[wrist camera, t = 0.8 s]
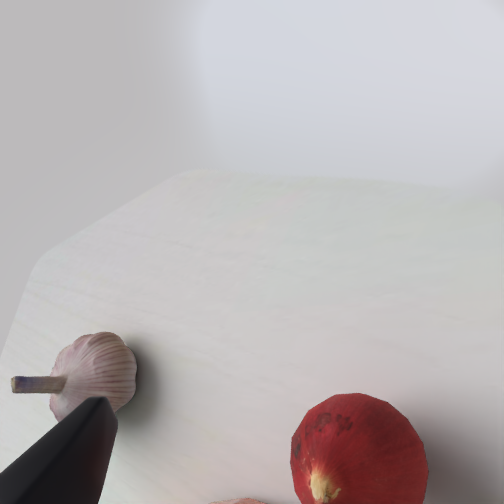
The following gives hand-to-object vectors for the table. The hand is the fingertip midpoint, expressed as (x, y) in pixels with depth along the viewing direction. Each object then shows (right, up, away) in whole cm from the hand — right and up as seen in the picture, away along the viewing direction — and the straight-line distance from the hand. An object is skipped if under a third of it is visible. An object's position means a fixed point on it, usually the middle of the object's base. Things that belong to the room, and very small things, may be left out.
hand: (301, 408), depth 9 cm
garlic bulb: (-12, -7, +25) cm, 29 cm away
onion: (+6, -7, +13) cm, 16 cm away
